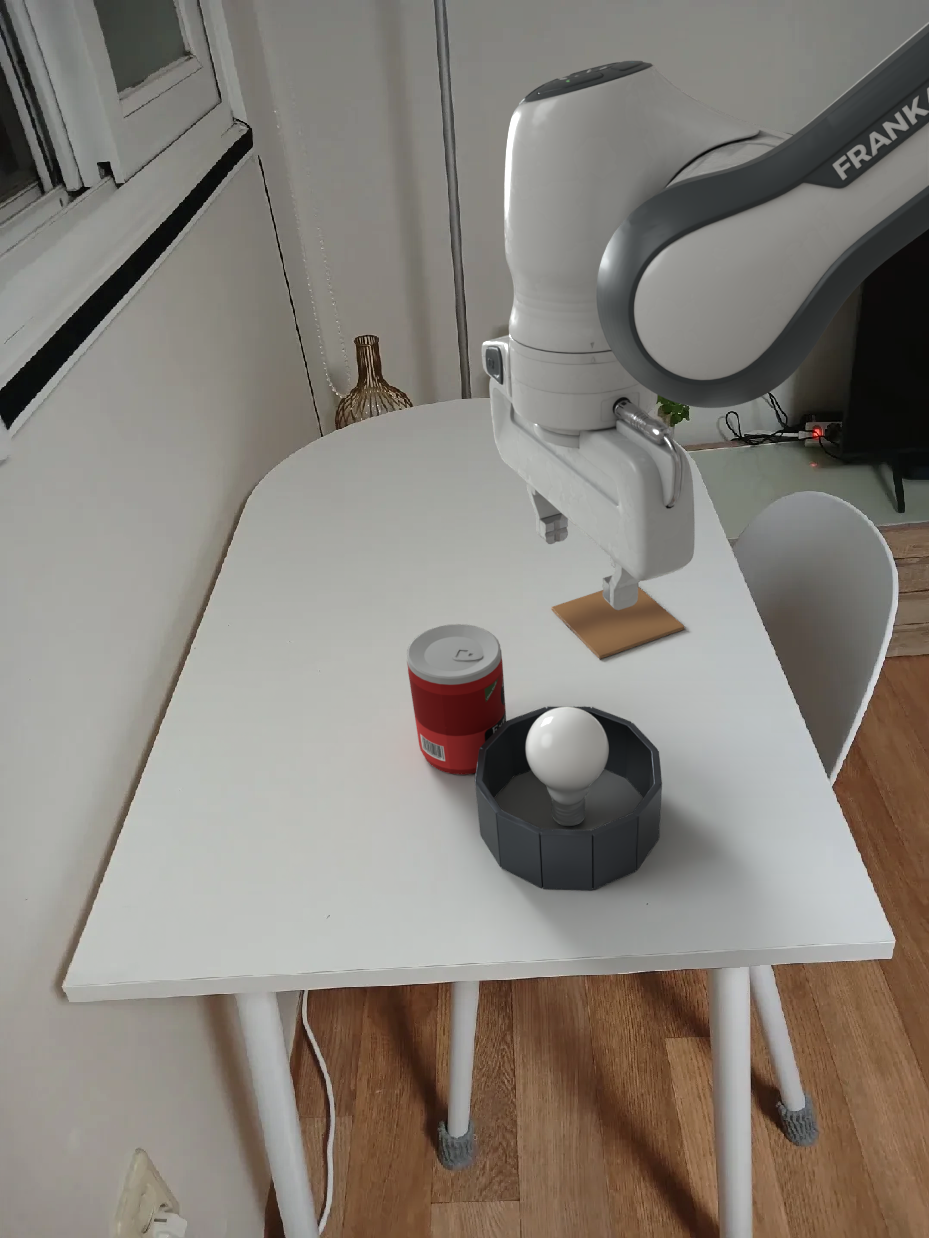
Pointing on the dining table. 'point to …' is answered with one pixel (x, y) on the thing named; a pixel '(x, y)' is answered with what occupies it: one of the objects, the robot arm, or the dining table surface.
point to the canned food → (456, 694)
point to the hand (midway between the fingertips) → (584, 568)
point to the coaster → (616, 622)
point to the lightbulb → (567, 758)
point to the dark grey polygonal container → (562, 851)
